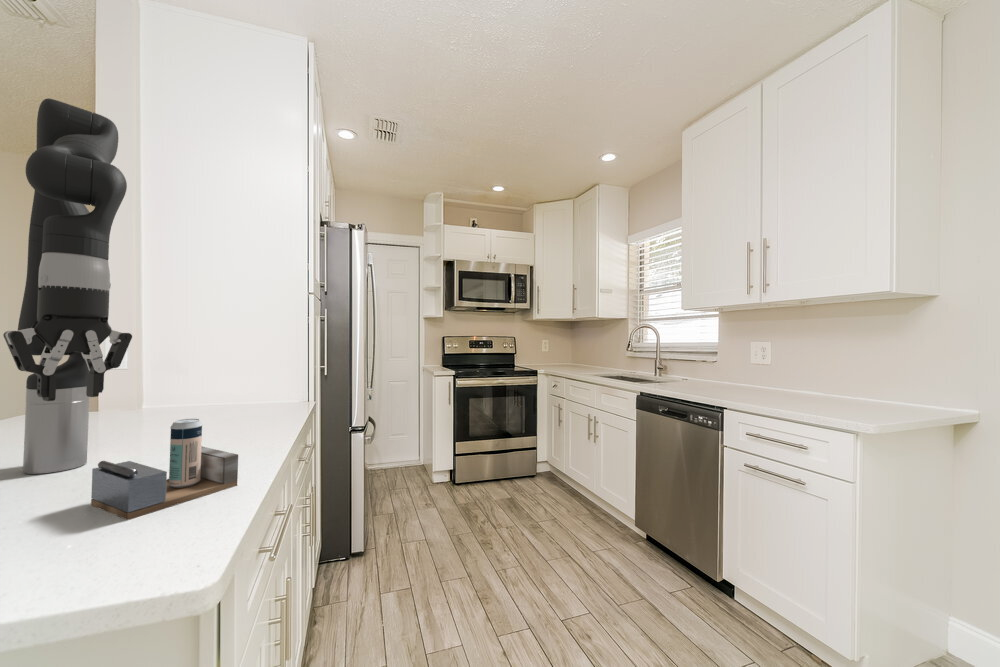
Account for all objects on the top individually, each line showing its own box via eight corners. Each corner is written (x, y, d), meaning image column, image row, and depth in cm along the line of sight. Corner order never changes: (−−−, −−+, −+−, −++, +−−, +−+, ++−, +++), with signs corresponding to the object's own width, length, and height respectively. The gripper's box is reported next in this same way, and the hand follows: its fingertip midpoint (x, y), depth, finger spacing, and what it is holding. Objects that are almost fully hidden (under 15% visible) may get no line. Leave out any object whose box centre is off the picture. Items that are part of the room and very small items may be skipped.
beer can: (203, 478, 79) (205, 417, 79) (196, 487, 74) (198, 422, 75) (173, 481, 77) (175, 418, 77) (164, 490, 73) (166, 424, 73)
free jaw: (91, 498, 68) (92, 461, 68) (130, 488, 73) (131, 453, 73) (128, 512, 63) (129, 472, 63) (167, 500, 68) (168, 463, 68)
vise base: (91, 505, 68) (92, 469, 68) (200, 475, 84) (201, 446, 84) (127, 520, 63) (129, 481, 63) (237, 485, 79) (238, 454, 79)
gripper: (122, 292, 70) (118, 391, 69) (-7, 281, 57) (-12, 402, 56) (145, 291, 67) (141, 395, 66) (15, 278, 54) (9, 407, 53)
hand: (71, 397), depth 61 cm, fingers open, 4 cm apart
